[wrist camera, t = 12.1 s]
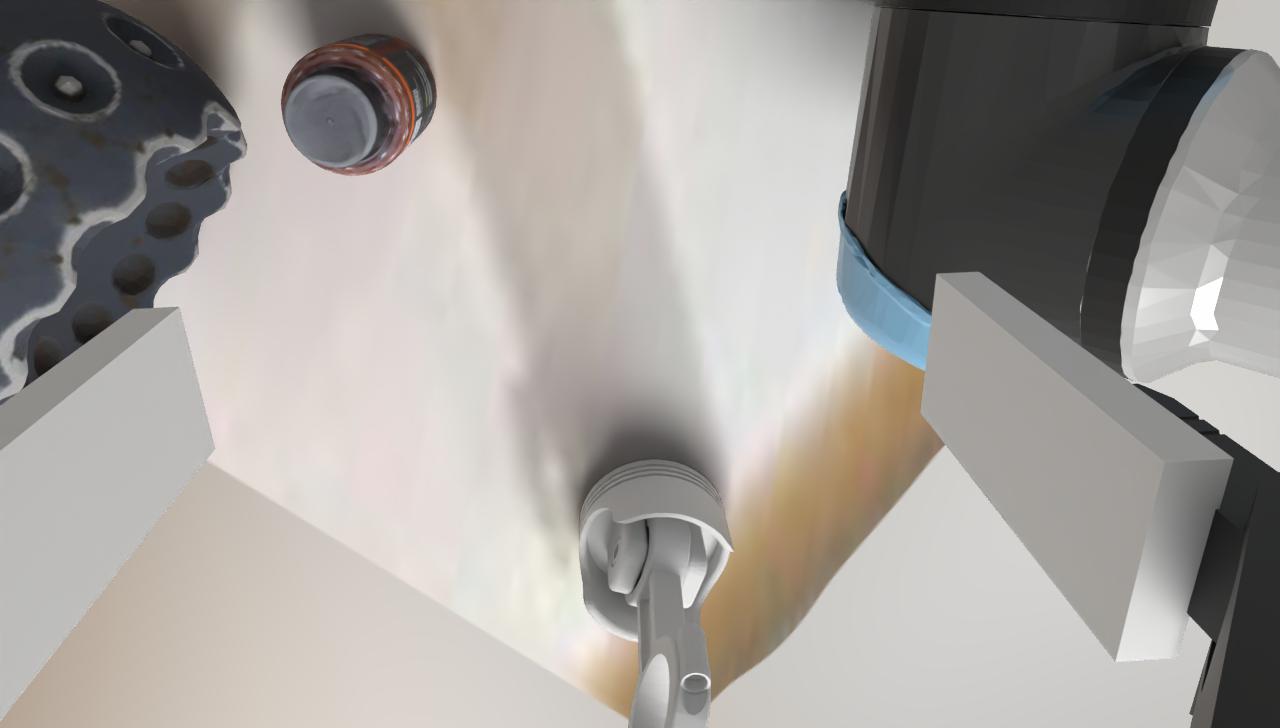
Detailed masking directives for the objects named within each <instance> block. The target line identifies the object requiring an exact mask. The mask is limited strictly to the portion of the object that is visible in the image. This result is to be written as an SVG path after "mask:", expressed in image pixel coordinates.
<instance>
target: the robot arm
mask: <svg viewBox="0 0 1280 728" xmlns="http://www.w3.org/2000/svg"><path fill="white" fill-rule="evenodd" d="M859 1H862V2H865V3H868V4H872V5H875V6H882V7H873V14H872V21H871V27H870V34H869V41H868V48H867V54H866V61H865V68H864V75H863V81H862V88H861V95H860V102H859V108H858V115H857V122H856V129H855V135H854V142H853V149H852V156H851V162H850V169H849V176H848V183H847V189H846V190H845V191H844V192H843V193H842V195H841V198H840V203H839V208H838V218H839V223H840V230H841V234H840V244H839V254H838V263H837V286H838V290H839V293H840V294H841V296H842V300H843V303H844V305H845V307H846V310H847V312H848V314H849V315H850V317H851V318H852V319H853V321H854V322H855V323H856V324H857V325H858V326H859V327H860V328H861V330H862V331H863V332H864V333H865V334H867V335H868V336H869V337H870V338H871V339H872V340H874V341H875V342H876V343H877V344H879V345H880V346H881V347H883V348H884V349H886V350H887V351H889V352H891V353H892V354H894V355H895V356H897V357H899V358H901V359H902V360H904V361H906V362H908V363H910V364H912V365H914V366H916V367H917V368H919V369H921V370H924V371H925V378H924V387H923V395H922V404H921V414H922V415H923V417H924V418H925V419H926V420H927V422H928V423H929V424H930V425H931V427H932V428H933V429H934V431H935V432H936V433H937V434H938V436H939V437H940V438H941V440H942V441H943V442H944V443H945V445H946V446H947V447H948V448H949V450H950V451H951V452H952V453H953V455H954V456H955V457H956V459H957V460H958V461H959V463H960V464H961V465H962V466H963V468H964V469H965V470H966V471H967V473H968V474H969V475H970V477H971V478H972V479H973V480H974V482H975V483H976V484H977V486H979V488H980V489H981V491H982V492H983V493H984V494H985V496H986V497H987V498H988V500H989V501H990V502H991V503H992V505H993V506H994V507H995V508H996V510H997V511H998V512H999V514H1000V515H1001V516H1002V518H1003V519H1004V520H1005V521H1006V523H1007V524H1008V525H1009V526H1010V528H1011V529H1012V530H1013V532H1014V533H1015V534H1016V535H1017V537H1018V538H1019V539H1020V541H1021V542H1022V543H1023V544H1024V546H1025V547H1026V548H1027V549H1028V551H1029V552H1030V553H1031V554H1032V556H1033V557H1034V558H1035V559H1036V561H1037V562H1038V563H1039V565H1040V566H1041V567H1042V568H1043V570H1044V571H1045V572H1046V574H1047V575H1048V576H1049V578H1050V579H1051V580H1052V581H1053V583H1054V584H1055V585H1056V587H1057V588H1058V589H1059V590H1060V591H1061V593H1062V594H1063V595H1064V597H1065V598H1066V599H1067V601H1068V602H1069V603H1070V604H1071V606H1072V607H1073V608H1074V610H1075V611H1076V612H1077V613H1078V615H1079V616H1080V617H1081V618H1082V619H1083V621H1084V622H1085V624H1086V625H1087V626H1088V627H1089V629H1090V630H1091V631H1092V633H1093V634H1094V635H1095V636H1096V638H1097V639H1098V640H1099V641H1100V643H1101V644H1102V645H1103V647H1104V648H1105V649H1106V650H1107V651H1108V653H1109V654H1110V656H1112V658H1113V659H1114V661H1116V662H1121V661H1136V660H1153V659H1168V658H1177V657H1178V654H1179V650H1180V647H1181V643H1182V640H1183V636H1184V633H1185V629H1186V626H1187V622H1188V619H1189V616H1190V617H1191V618H1192V619H1193V620H1194V621H1195V622H1196V623H1197V624H1198V625H1199V626H1200V627H1201V628H1202V629H1203V630H1204V631H1205V632H1206V633H1207V635H1208V636H1209V637H1210V638H1211V639H1212V641H1211V644H1210V647H1209V651H1208V654H1207V657H1206V661H1205V664H1204V667H1203V671H1202V674H1201V677H1200V681H1199V684H1198V687H1197V691H1196V694H1195V697H1194V701H1193V704H1192V707H1191V711H1190V714H1191V715H1193V718H1192V722H1191V727H1190V728H1280V472H1277V471H1276V470H1274V469H1273V468H1272V467H1270V466H1268V465H1267V464H1265V463H1264V462H1263V461H1262V460H1260V459H1259V458H1257V457H1256V456H1255V455H1253V454H1252V453H1250V452H1249V451H1247V450H1246V449H1244V448H1243V447H1242V446H1240V445H1239V444H1237V443H1236V442H1235V441H1233V440H1232V439H1230V438H1229V437H1228V436H1226V435H1225V434H1222V435H1220V434H1219V430H1218V429H1216V428H1215V427H1213V426H1212V425H1211V424H1209V423H1208V422H1206V421H1205V420H1199V416H1198V415H1196V414H1195V413H1194V412H1192V411H1191V410H1189V409H1188V408H1187V407H1185V406H1184V405H1182V404H1181V403H1179V402H1178V401H1177V400H1175V399H1174V398H1172V397H1169V396H1167V395H1164V394H1162V393H1159V392H1157V391H1155V390H1152V389H1150V388H1147V387H1145V386H1143V385H1140V384H1131V383H1130V382H1129V381H1127V380H1126V379H1129V380H1132V381H1137V382H1142V383H1150V382H1152V381H1154V380H1157V379H1159V378H1162V377H1164V376H1167V375H1169V374H1171V373H1174V372H1176V371H1178V370H1181V369H1183V368H1186V367H1188V366H1191V365H1193V364H1195V363H1200V362H1207V361H1213V360H1218V361H1222V362H1225V363H1229V364H1232V365H1235V366H1239V367H1242V368H1246V369H1249V370H1253V371H1257V372H1260V373H1264V374H1267V375H1271V376H1274V377H1278V378H1280V68H1279V67H1278V65H1277V64H1276V62H1275V61H1274V59H1273V58H1272V57H1271V56H1270V55H1269V54H1268V53H1265V52H1262V51H1258V50H1252V49H1250V50H1244V49H1232V48H1219V47H1209V46H1206V45H1207V38H1208V31H1209V28H1206V27H1201V26H1211V22H1212V19H1213V15H1214V12H1215V9H1216V5H1217V2H1218V0H859ZM1125 378H1126V379H1125ZM214 449H215V447H214V443H213V439H212V435H211V431H210V427H209V423H208V419H207V415H206V411H205V407H204V403H203V399H202V395H201V391H200V387H199V383H198V379H197V376H196V372H195V368H194V364H193V360H192V356H191V352H190V348H189V344H188V340H187V336H186V332H185V328H184V324H183V320H182V316H181V312H180V308H179V307H167V308H144V309H132V310H131V311H130V312H128V313H127V314H126V315H124V316H123V317H121V318H120V319H119V320H117V321H116V322H115V323H113V324H112V325H110V326H109V327H108V328H106V329H105V330H104V331H102V332H101V333H99V334H98V335H97V336H95V337H94V338H93V339H91V340H90V341H88V342H87V343H86V344H84V345H83V346H82V347H80V348H79V349H77V350H76V351H75V352H73V353H72V354H71V355H69V356H68V357H66V358H65V359H64V360H62V361H61V362H60V363H58V364H57V365H55V366H54V367H53V368H51V369H50V370H49V371H47V372H46V373H44V374H43V375H42V376H40V377H39V378H38V379H36V380H35V381H33V382H32V383H31V384H29V385H28V386H27V387H25V388H24V389H22V390H21V391H20V392H18V393H17V394H16V395H14V396H13V397H11V398H10V399H9V400H7V401H6V402H5V403H3V404H2V405H0V721H1V720H2V718H3V717H4V716H5V715H6V713H7V712H8V711H9V709H10V708H11V707H12V706H13V704H14V703H15V702H16V701H17V699H18V698H19V697H20V695H21V694H22V693H23V692H24V690H25V689H26V688H27V687H28V685H29V684H30V683H31V682H32V680H33V679H34V678H35V676H36V675H37V674H38V673H39V671H40V670H41V669H42V668H43V666H44V665H45V664H46V662H47V661H48V660H49V659H50V658H51V656H52V655H53V654H54V652H55V651H56V650H57V649H58V647H59V646H60V645H61V643H62V642H63V641H64V640H65V638H66V637H67V636H68V635H69V633H70V632H71V631H72V630H73V628H74V627H75V626H76V625H77V623H78V622H79V621H80V619H81V618H82V617H83V616H84V614H85V613H86V612H87V611H88V609H89V608H90V607H91V605H92V604H93V603H94V602H95V600H96V599H97V598H98V596H99V595H100V594H101V593H102V592H103V590H104V589H105V588H106V586H107V585H108V584H109V583H110V581H111V580H112V579H113V578H114V576H115V575H116V574H117V572H118V571H119V570H120V569H121V567H122V566H123V565H124V564H125V562H126V561H127V559H129V557H130V556H131V555H132V553H133V552H134V551H135V550H136V548H137V547H138V546H139V544H140V543H141V542H142V541H143V539H144V538H145V537H146V536H147V534H148V533H149V532H150V531H151V529H152V528H153V527H154V526H155V524H156V523H157V522H158V520H159V519H160V518H161V517H162V515H163V514H164V513H165V512H166V510H167V509H168V508H169V506H170V505H171V504H172V503H173V501H174V500H175V499H176V498H177V496H178V495H179V494H180V492H181V491H182V490H183V488H185V486H186V485H187V484H188V482H189V481H190V479H192V477H193V476H194V475H195V474H196V472H197V471H198V470H199V468H200V467H201V466H202V465H203V463H204V462H205V461H206V460H207V458H208V457H209V456H210V455H211V453H212V452H213V451H214Z"/></svg>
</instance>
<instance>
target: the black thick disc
mask: <svg viewBox="0 0 1280 728" xmlns="http://www.w3.org/2000/svg"><path fill="white" fill-rule="evenodd" d="M246 150H247V143H246V140H245V138H244V135H243V132H242V130H241V122H240V120H239V118H238V116H237V114H236V112H235V110H234V108H233V107H232V106H231V104H230V103H229V102H228V100H227V99H226V97H225V96H224V95H223V93H222V92H221V91H220V90H219V88H218V87H217V86H216V85H215V84H214V83H213V81H212V80H211V79H210V78H209V77H208V76H207V75H206V74H205V73H204V72H203V71H202V70H201V69H200V68H199V67H198V66H197V65H196V64H195V63H194V62H193V61H192V60H191V59H190V58H189V57H188V56H187V55H186V54H185V53H183V52H182V51H181V50H180V49H178V48H177V47H176V46H175V45H173V44H172V43H171V42H169V41H168V40H167V39H165V38H164V37H163V36H161V35H160V34H158V33H157V32H156V31H154V30H153V29H152V28H150V27H148V26H146V25H145V24H143V23H141V22H140V21H138V20H136V19H134V18H133V17H131V16H129V15H127V14H126V13H124V12H122V11H120V10H118V9H116V8H113V7H111V6H109V5H107V4H105V3H103V2H100V1H98V0H0V405H2V404H3V403H5V402H6V401H7V400H9V399H10V398H11V397H13V396H14V395H16V394H17V393H18V392H20V391H21V390H22V389H24V388H25V387H27V386H28V385H29V384H31V383H32V382H33V381H35V380H36V379H38V378H39V377H40V376H42V375H43V374H44V373H46V372H47V371H49V370H50V369H51V368H53V367H54V366H55V365H57V364H58V363H60V362H61V361H62V360H64V359H65V358H66V357H68V356H69V355H71V354H72V353H73V352H75V351H76V350H77V349H79V348H80V347H82V346H83V345H84V344H86V343H87V342H88V341H90V340H91V339H93V338H94V337H95V336H97V335H98V334H99V333H101V332H102V331H104V330H105V329H106V328H108V327H109V326H110V325H112V324H113V323H115V322H116V321H117V320H119V319H120V318H121V317H123V316H124V315H126V314H127V313H128V312H130V311H131V310H132V309H144V308H153V301H154V297H155V295H156V293H157V291H158V290H159V288H160V287H161V286H162V285H163V284H164V283H165V282H166V281H167V280H168V279H170V278H172V277H174V276H176V275H179V274H182V273H184V272H186V271H187V270H188V269H189V268H190V266H191V265H192V263H193V262H194V260H195V259H196V257H197V256H198V254H199V250H198V234H199V230H200V226H201V223H202V221H203V220H204V219H205V218H206V217H208V216H210V215H212V214H213V213H215V212H217V211H219V210H222V209H224V208H225V207H226V205H227V203H228V200H229V198H230V196H231V194H232V191H231V182H230V174H229V169H230V163H232V162H234V161H236V160H239V159H241V158H243V157H244V156H245V155H246Z"/></svg>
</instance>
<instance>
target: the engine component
mask: <svg viewBox="0 0 1280 728" xmlns="http://www.w3.org/2000/svg"><path fill="white" fill-rule="evenodd" d="M730 551H732V552H734V549H733V545H732V541H731V537H730V533H729V529H728V525H727V521H726V518H725V514H724V510H723V506H722V503H721V500H720V497H719V495H718V493H717V491H716V490H715V488H714V487H713V485H712V484H711V483H710V482H709V481H708V480H707V479H706V478H705V477H704V476H703V475H701V474H700V473H699V472H697V471H695V470H694V469H692V468H690V467H688V466H686V465H683V464H680V463H677V462H674V461H668V460H659V459H650V460H642V461H635V462H632V463H629V464H625V465H623V466H621V467H618V468H616V469H614V470H613V471H611V472H610V473H608V474H607V475H605V476H604V477H603V478H602V479H600V480H599V481H598V482H597V483H596V484H595V485H594V486H593V488H592V489H591V490H590V492H589V493H588V495H587V497H586V499H585V501H584V503H583V506H582V510H581V513H580V524H579V559H580V568H581V575H582V581H583V598H584V603H585V606H586V608H587V611H588V612H589V614H590V615H591V616H592V617H593V619H594V620H595V621H596V622H597V623H598V624H600V625H601V626H602V627H603V628H605V629H606V630H607V631H609V632H611V633H613V634H614V635H616V636H619V637H621V638H624V639H626V640H631V641H635V642H638V655H639V678H638V682H637V685H636V689H635V693H634V698H633V702H632V706H631V712H630V717H629V724H628V728H708V722H709V713H710V702H711V676H710V667H709V661H708V655H707V647H706V640H705V633H704V630H703V629H702V628H701V627H700V625H701V624H700V610H701V607H702V605H703V602H704V600H705V599H706V597H707V595H708V593H709V592H710V590H711V588H712V587H713V585H714V584H715V582H716V581H717V579H718V578H719V576H720V575H721V573H722V571H723V570H724V568H725V565H726V563H727V560H728V557H729V553H730Z"/></svg>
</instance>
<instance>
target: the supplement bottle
mask: <svg viewBox="0 0 1280 728" xmlns="http://www.w3.org/2000/svg"><path fill="white" fill-rule="evenodd" d="M436 97H437V96H436V85H435V81H434V78H433V75H432V72H431V70H430V68H429V66H428V64H427V63H426V61H425V60H424V59H423V57H422V56H421V55H420V54H419V53H418V52H417V51H416V50H415V49H414V48H412V47H411V46H410V45H408V44H407V43H405V42H403V41H401V40H399V39H397V38H395V37H392V36H389V35H382V34H366V35H361V36H357V37H353V38H350V39H347V40H343V41H340V42H337V43H334V44H330V45H327V46H324V47H321V48H319V49H316V50H314V51H312V52H310V53H308V54H307V55H305V56H304V57H303V58H302V59H301V60H299V61H298V62H297V63H296V64H295V66H294V67H293V68H292V70H291V72H290V73H289V75H288V77H287V79H286V81H285V84H284V87H283V91H282V99H281V107H282V108H281V109H282V115H283V120H284V124H285V127H286V130H287V133H288V135H289V137H290V139H291V141H292V143H293V144H294V145H295V147H296V148H297V149H298V150H299V151H300V152H301V153H302V154H303V155H304V156H305V157H307V158H308V159H309V160H310V161H311V162H313V163H314V164H316V165H317V166H319V167H321V168H323V169H325V170H328V171H331V172H333V173H338V174H342V175H350V176H352V175H364V174H369V173H373V172H375V171H378V170H381V169H382V168H384V167H386V166H387V165H389V164H390V163H391V162H393V161H394V160H395V159H396V158H397V157H398V156H399V155H400V154H401V153H402V152H403V151H404V150H405V149H406V148H407V147H408V146H409V145H410V144H411V143H412V142H413V141H414V140H415V139H416V138H417V137H418V136H419V135H420V134H421V133H422V132H423V131H424V130H425V128H426V127H427V126H428V124H429V123H430V121H431V118H432V116H433V114H434V110H435V108H436Z"/></svg>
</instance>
